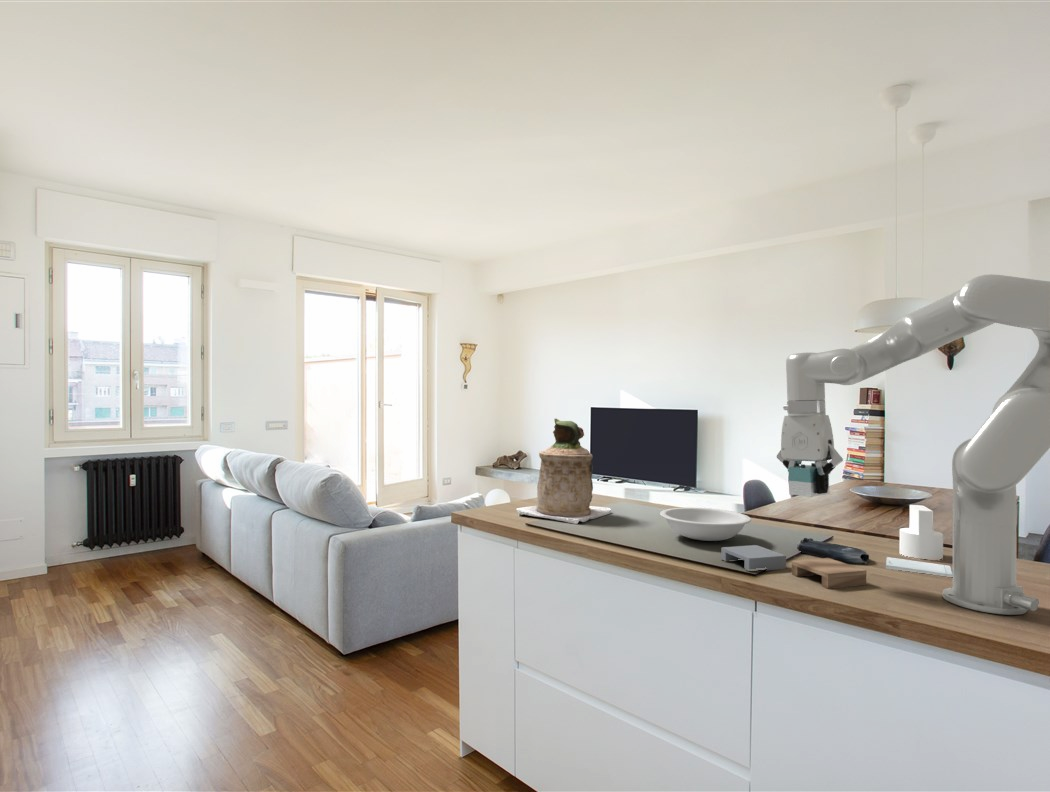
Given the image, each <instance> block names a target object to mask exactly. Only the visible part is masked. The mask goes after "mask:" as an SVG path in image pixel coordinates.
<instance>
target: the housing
mask: <svg viewBox="0 0 1050 792" xmlns="http://www.w3.org/2000/svg"><path fill="white" fill-rule="evenodd" d="M788 471H789V472H788ZM787 472H788V492H789V495H790V496H791V495H792V496H800V497H810V498H812V497H817V496H824V495H830V474H828V492H827V493H823V494H817V493H816V475H818V471H817V468H816V464H815V462H811V463H810V464H803V463H801V464H799V466H793V467H788V469H787Z"/></svg>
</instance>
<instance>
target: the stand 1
mask: <svg viewBox="0 0 1050 792" xmlns="http://www.w3.org/2000/svg"><path fill="white" fill-rule="evenodd" d="M720 550H721V551H720V552H721V554H720V557H721V558H720V560H721V559H723V560H725V561H729V560H738V559H743V561H744V567H743V568H747V569H756V568H765V567H766V568H768V569H767V570H766V571H774V570H775V571H776V570H777V571H778V570H786V569H787V555H786V554H783V553H780V552H777V551H774V550H771V549H770V548H769V549H768V548H766V547H763V546H760V545H757V544H752V545H751V544H750V545H737V546H723V547H721V549H720ZM725 561H724V562H725Z"/></svg>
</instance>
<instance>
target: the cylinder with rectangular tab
mask: <svg viewBox="0 0 1050 792" xmlns="http://www.w3.org/2000/svg"><path fill="white" fill-rule="evenodd" d="M898 547H899V550H898V551H899V555H901V554H902V555H901V556H903V555H904V556H903V557H906V556H908V557H907V558H909V557H914V558H922V559H941V558H943V559H944V534H943V533H942V532H940V531H935V530H934V510H932V509H930V508H929V507H926V506H925V505H923V504H922V505H920V504H909V527H903V528H899V546H898ZM914 558H913V559H914Z"/></svg>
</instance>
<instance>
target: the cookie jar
mask: <svg viewBox="0 0 1050 792" xmlns="http://www.w3.org/2000/svg"><path fill="white" fill-rule="evenodd" d="M553 419H554V421H553V422H554V423H555V424H554V426H553V427H554V430H553V431H552V433H553V437H554V438H555V439H554V441H555V443H554V444H552V445H551V446H550V447H548V448H547V449H545V450H541V451H539V452H538V456H539V458H540V468H539V472H538V473H539V474H538V479H537V480H538V482H537V489H536V490H537V493H536V494H537V496H536V497H537V499H538V500H537V503H538V505H532V506H531V505H530V506H525V507H524V506H523V507H518V508H516V509H515V510H516V512H517V516H519V517H520V516H521V515H525V516H531V517H536V518H544V519H550V520H555V521H561V522H565V523H569V524H575V525H578V523H579V522H582V523H586V522H587V521H589V520H595V519H597V518H600V517H603V516H606V515H610V514H611V513H612V509H611V508H610V507H606V506H597V505H596V506H594V505H590V504H591V502H592V499H593V491H594V490H593V489H594V485H593V478H592V477H593V469H594V466H593V458H594V457H593V454H592V453H590V451H589V450H588V449H587V448H585V447H583V446H581V441H580V439H582V438H583V437H584V436H585V433H584V429H583V428H582V427H580V426H579V425H578V424H577V423H576V422H574V421H572V420H560V419H558V418H557V417H555V418H553Z"/></svg>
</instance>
